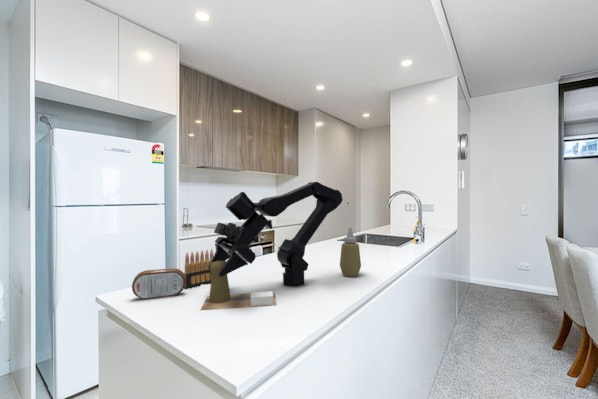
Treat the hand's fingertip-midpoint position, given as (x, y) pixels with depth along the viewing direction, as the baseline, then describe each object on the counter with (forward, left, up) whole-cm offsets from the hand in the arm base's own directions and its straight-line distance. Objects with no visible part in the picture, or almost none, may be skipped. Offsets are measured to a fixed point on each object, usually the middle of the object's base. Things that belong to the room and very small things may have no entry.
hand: (214, 272), depth 82 cm
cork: (-1, -1, -8) cm, 8 cm away
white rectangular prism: (-13, +4, -8) cm, 16 cm away
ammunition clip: (+8, -20, -9) cm, 23 cm away
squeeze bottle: (-47, -23, -9) cm, 53 cm away
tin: (+18, -10, -10) cm, 22 cm away
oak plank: (-7, +1, -9) cm, 12 cm away
